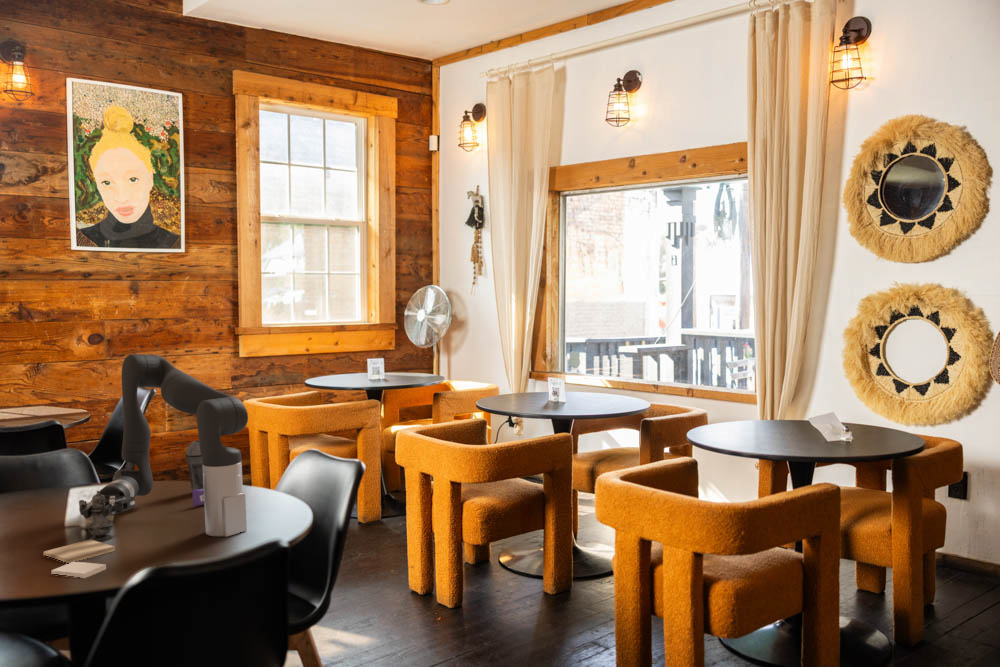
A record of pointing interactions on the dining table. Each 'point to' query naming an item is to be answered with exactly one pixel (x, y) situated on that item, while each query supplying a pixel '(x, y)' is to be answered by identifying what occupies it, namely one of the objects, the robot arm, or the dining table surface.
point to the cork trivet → (79, 551)
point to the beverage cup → (195, 465)
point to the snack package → (198, 497)
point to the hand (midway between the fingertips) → (95, 513)
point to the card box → (79, 569)
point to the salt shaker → (99, 520)
